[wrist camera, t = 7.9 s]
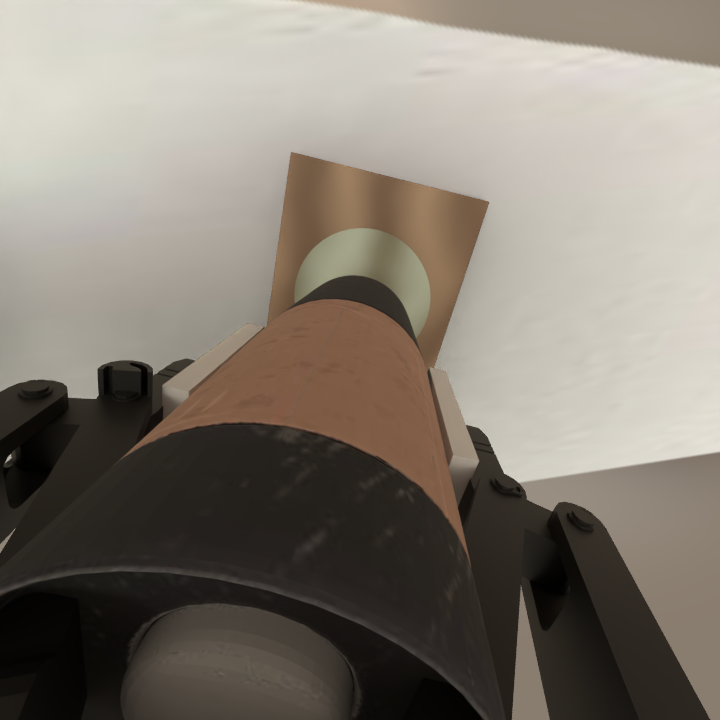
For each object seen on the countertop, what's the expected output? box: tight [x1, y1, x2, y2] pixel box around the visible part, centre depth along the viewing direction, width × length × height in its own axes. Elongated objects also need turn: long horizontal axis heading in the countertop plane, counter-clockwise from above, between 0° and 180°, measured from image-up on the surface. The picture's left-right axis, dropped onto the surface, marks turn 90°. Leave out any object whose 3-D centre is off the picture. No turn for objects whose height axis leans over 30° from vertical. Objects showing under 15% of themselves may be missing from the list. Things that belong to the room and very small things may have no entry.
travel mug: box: [0, 275, 506, 720], centre depth 14 cm, size 8×8×20 cm
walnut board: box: [267, 152, 489, 372], centre depth 32 cm, size 16×20×2 cm
